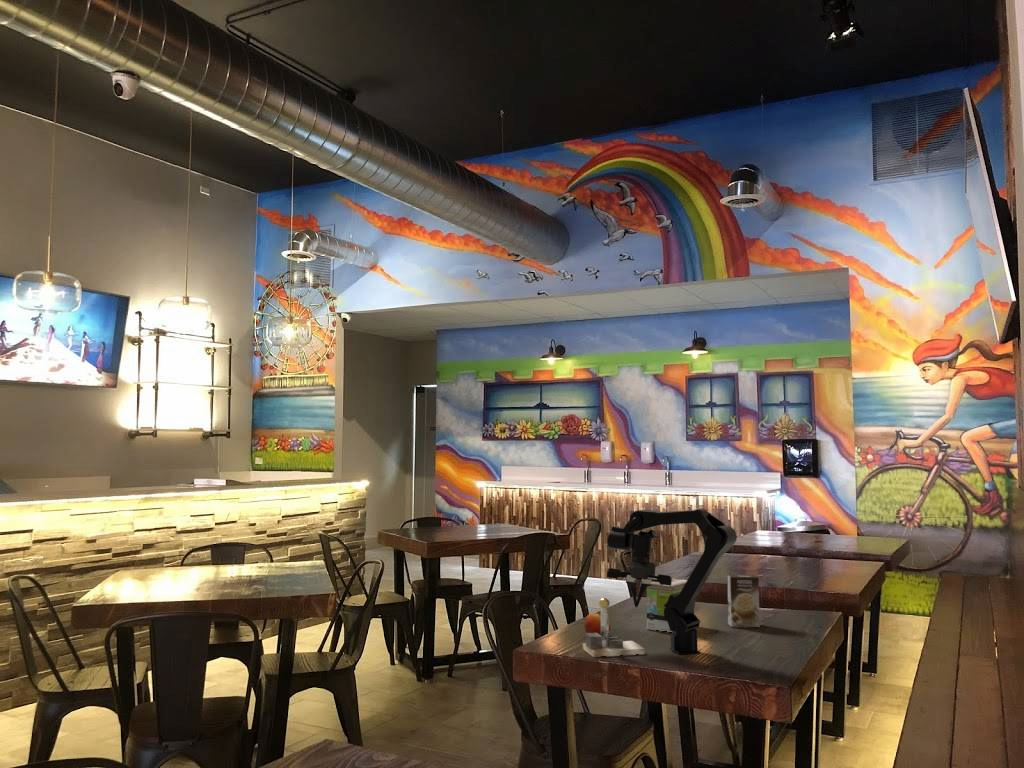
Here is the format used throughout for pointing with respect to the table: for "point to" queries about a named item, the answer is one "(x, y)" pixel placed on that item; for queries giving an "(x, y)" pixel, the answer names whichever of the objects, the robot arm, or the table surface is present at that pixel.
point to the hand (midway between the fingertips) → (636, 606)
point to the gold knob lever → (604, 621)
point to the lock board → (610, 646)
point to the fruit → (594, 624)
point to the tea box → (660, 603)
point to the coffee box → (743, 600)
